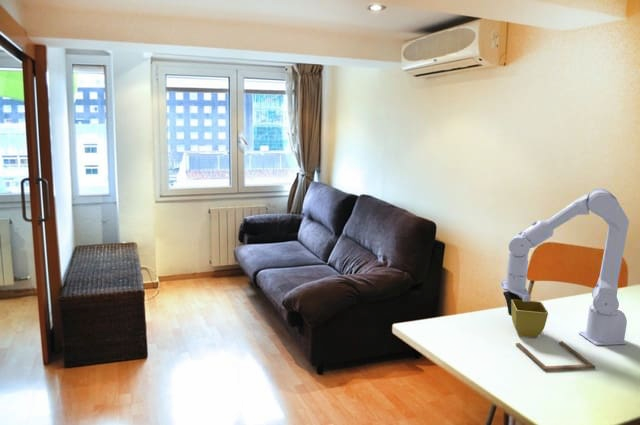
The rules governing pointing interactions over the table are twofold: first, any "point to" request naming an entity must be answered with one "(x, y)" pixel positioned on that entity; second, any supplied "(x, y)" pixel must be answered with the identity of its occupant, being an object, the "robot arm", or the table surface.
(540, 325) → the flower pot
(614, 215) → the robot arm
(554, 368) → the brown wooden open-sided frame
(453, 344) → the table surface
